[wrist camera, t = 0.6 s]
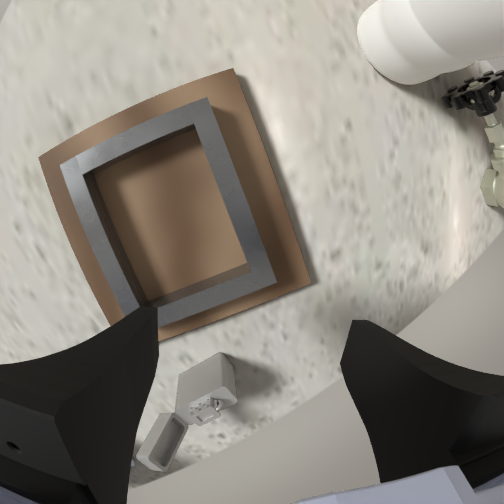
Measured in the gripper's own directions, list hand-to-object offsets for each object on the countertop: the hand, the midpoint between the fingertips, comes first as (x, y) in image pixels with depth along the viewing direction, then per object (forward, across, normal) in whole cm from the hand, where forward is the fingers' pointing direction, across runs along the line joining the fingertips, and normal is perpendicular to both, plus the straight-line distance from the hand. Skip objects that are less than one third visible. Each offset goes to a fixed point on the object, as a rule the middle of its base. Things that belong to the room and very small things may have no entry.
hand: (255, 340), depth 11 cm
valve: (+13, -20, -11) cm, 26 cm away
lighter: (+10, +3, +10) cm, 15 cm away
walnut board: (+10, +5, -2) cm, 12 cm away
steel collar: (+10, +5, -2) cm, 11 cm away
